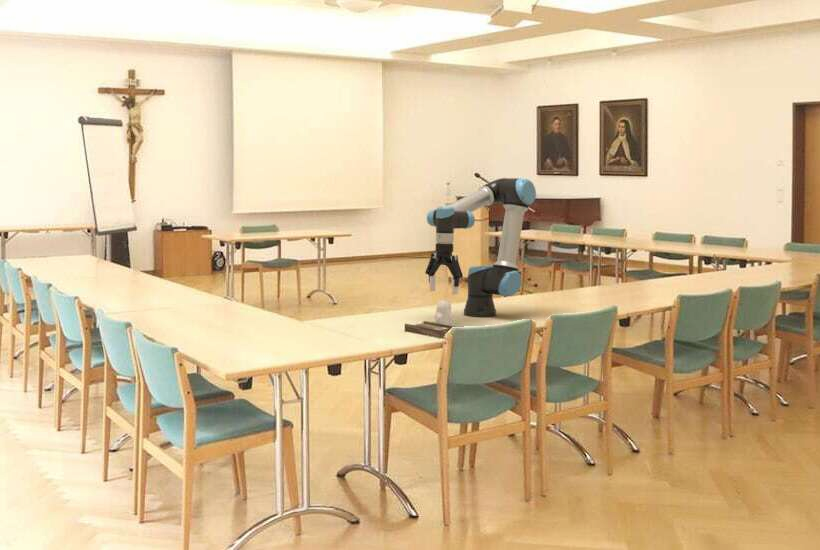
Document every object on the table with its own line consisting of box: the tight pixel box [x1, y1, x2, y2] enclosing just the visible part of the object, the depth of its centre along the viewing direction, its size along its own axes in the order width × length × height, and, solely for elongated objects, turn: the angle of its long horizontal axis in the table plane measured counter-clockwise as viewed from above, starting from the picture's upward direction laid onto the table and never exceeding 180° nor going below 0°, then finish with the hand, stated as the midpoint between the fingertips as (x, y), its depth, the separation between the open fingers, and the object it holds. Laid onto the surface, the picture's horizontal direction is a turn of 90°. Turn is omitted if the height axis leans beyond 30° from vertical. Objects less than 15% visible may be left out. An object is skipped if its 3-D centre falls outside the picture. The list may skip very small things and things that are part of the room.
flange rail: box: [404, 320, 456, 339], centre depth 370 cm, size 12×22×4 cm, turn 43°
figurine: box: [434, 299, 454, 326], centre depth 383 cm, size 7×8×12 cm
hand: (443, 292), depth 382 cm, fingers open, 13 cm apart
